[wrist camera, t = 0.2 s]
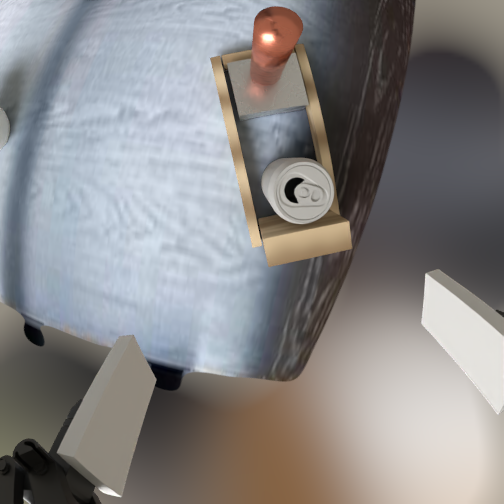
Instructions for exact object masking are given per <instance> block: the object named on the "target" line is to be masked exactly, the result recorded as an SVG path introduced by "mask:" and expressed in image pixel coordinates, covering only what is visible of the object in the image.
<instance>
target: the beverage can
mask: <svg viewBox="0 0 504 504" xmlns="http://www.w3.org/2000/svg"><path fill="white" fill-rule="evenodd" d="M261 187H262V191H263V193H264V195H265V197H266V198H267V200H268V201H269V203H270V204H271V206H272V208H273V209H274V211H275V212H276V213H277V214H278V215H279V216H280V217H281V218H283V219H284V220H286V221H288V222H291V223H295V224H306V223H310V222H313V221H316V220H318V219H319V218H321V217H322V216H324V215H325V214H326V213H327V211H328V210H329V208H330V207H331V205H332V202H333V198H334V186H333V182H332V179H331V176H330V174H329V173H328V171H327V170H326V169H325V168H324V167H323V166H322V165H321V164H320V163H318V162H316V161H314V160H312V159H308V158H282V159H278V160H275V161H273V162H272V163H270V164H269V165H268V166H267V167H266V169H265V170H264V172H263V175H262V179H261Z"/></svg>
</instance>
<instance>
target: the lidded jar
mask: <svg viewBox="0 0 504 504" xmlns="http://www.w3.org/2000/svg"><path fill="white" fill-rule="evenodd" d="M9 134H10V122H9V120H8V117H7V115H6V113H5V111H4V110H3V109H2V108H1V107H0V151H1V150H2V148H3V147H4V146H5V144H6V142H7V140H8V138H9Z"/></svg>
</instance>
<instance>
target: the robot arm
mask: <svg viewBox="0 0 504 504" xmlns="http://www.w3.org/2000/svg"><path fill="white" fill-rule="evenodd" d="M421 324H422V325H423V326H424V327H425V328H426V329H427V330H428V332H430V334H432V336H433V337H434V338H435V339H436V340H437V341H438V343H439V344H440V345H441V346H442V347H443V348H444V349H445V350H446V351H447V353H448V354H449V355H450V356H451V357H452V358H453V359H454V361H456V363H457V364H458V365H459V367H460V368H461V369H462V370H463V371H464V373H465V374H466V375H467V376H468V377H469V379H470V380H471V381H472V382H473V384H474V385H475V386H476V387H477V388H478V390H479V391H480V392H481V393H482V395H483V396H484V397H485V399H486V400H487V401H488V402H489V404H490V405H491V406H492V408H493V409H494V410H495V412H496V413H497V414H500V413H501V412H502V411H504V312H501V311H499V310H496V311H495V310H493V309H492V308H491V307H490V306H488V305H487V304H486V303H484V302H483V301H482V300H480V299H479V298H478V297H476V296H475V295H474V294H472V293H471V292H470V291H468V290H467V289H466V288H464V287H463V286H461V285H460V284H459V283H457V282H455V281H454V280H453V279H451V278H450V277H449V276H447V275H446V274H444V273H443V272H442V271H440V270H439V269H437V270H434V271H431V272H428V273H426V275H425V291H424V303H423V314H422V322H421ZM155 382H156V378H155V376H154V375H153V373H152V371H151V369H150V367H149V365H148V363H147V361H146V359H145V357H144V355H143V353H142V351H141V349H140V347H139V345H138V343H137V341H136V339H135V337H134V335H126V336H119V338H118V339H117V341H116V343H115V344H114V346H113V348H112V349H111V351H110V353H109V355H108V356H107V358H106V360H105V362H104V363H103V365H102V367H101V368H100V370H99V372H98V374H97V375H96V377H95V379H94V381H93V383H92V384H91V387H90V388H89V390H88V392H87V394H86V395H85V397H84V399H80V400H79V401H78V402H77V403H76V404H75V405H74V406H73V407H72V409H71V411H70V413H69V414H68V416H67V419H66V420H65V422H64V424H63V427H62V428H61V430H60V432H59V433H58V435H57V437H56V440H55V441H54V443H53V446H52V448H51V450H50V452H49V453H47V452H46V451H45V450H44V449H43V448H42V447H41V446H40V445H39V444H38V442H36V441H35V440H34V439H25V440H23V441H21V442H20V443H18V445H17V446H16V447H15V449H14V451H13V457H11V456H8V455H5V456H3V457H1V458H0V504H23V503H24V501H23V500H25V501H26V502H28V503H29V504H101V502H100V500H99V498H98V496H97V495H96V494H95V493H94V492H93V491H94V488H95V487H97V488H98V489H99V490H101V491H102V492H103V493H105V494H109V495H114V496H119V497H122V493H123V490H124V486H125V482H126V478H127V474H128V471H129V467H130V464H131V460H132V457H133V453H134V450H135V446H136V443H137V439H138V436H139V433H140V429H141V426H142V423H143V420H144V416H145V413H146V410H147V407H148V404H149V401H150V397H151V395H152V391H153V388H154V385H155Z"/></svg>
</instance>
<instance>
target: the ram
mask: <svg viewBox="0 0 504 504" xmlns="http://www.w3.org/2000/svg"><path fill="white" fill-rule="evenodd" d="M302 31H303V23H302V20H301V19H300V17H299V16H298V15H297V14H296V13H295V12H293V11H292V10H290V9H287V8H284V7H269V8H266V9H263V10H262V11H260V12H259V13H258V14H257V16H256V17H255V21H254V30H253V41H252V53H251V59H246V60H240V61H235V62H230V63H227V66H228V72H229V77H230V81H231V85H232V90H233V94H234V98H235V103H236V107H237V111H238V116H239V120H240V121H242V120H247V119H252V118H257V117H263V116H268V115H274V114H280V113H287V112H293V111H300V110H303V109H304V108H306V107H307V106H308V105H309V103H308V98H307V94H306V90H305V86H304V82H303V78H302V75H301V71H300V67H299V63H298V60H297V56H296V53H292V51H293V49H294V47H295V45H296V43H297V41H298V39H299V37H300V35H301V33H302Z"/></svg>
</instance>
